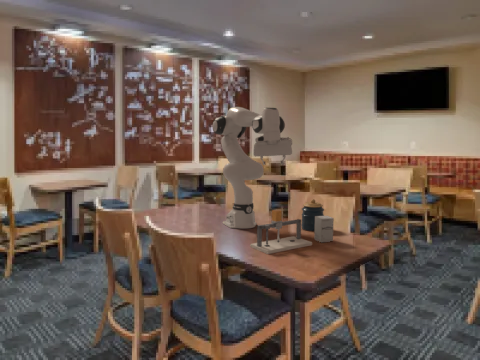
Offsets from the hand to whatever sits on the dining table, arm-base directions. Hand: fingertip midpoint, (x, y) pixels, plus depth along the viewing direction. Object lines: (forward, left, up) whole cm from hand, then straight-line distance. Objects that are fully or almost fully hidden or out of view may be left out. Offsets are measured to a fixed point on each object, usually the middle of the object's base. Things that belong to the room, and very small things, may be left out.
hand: (273, 164), depth 208 cm
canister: (-4, +33, -40) cm, 52 cm away
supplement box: (+19, +19, -40) cm, 48 cm away
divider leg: (+13, -8, -37) cm, 40 cm away
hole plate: (+15, -6, -40) cm, 43 cm away
